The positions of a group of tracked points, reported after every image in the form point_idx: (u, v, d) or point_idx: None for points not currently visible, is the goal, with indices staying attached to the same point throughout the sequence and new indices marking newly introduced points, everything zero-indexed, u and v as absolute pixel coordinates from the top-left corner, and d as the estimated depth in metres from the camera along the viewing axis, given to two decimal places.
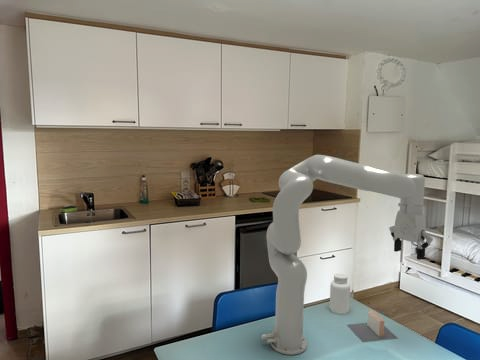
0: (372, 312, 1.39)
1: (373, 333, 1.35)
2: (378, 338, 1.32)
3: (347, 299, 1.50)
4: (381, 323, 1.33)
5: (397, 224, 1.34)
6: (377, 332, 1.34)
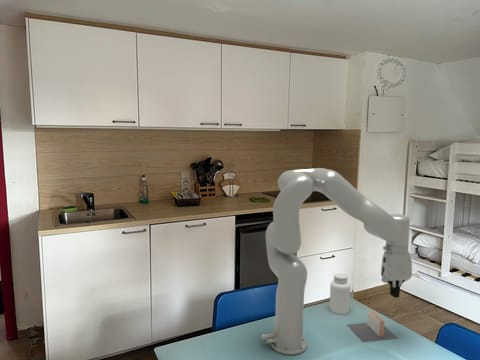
0: (372, 312, 1.39)
1: (373, 333, 1.35)
2: (378, 338, 1.32)
3: (347, 299, 1.50)
4: (381, 323, 1.33)
5: (392, 268, 1.32)
6: (377, 332, 1.34)
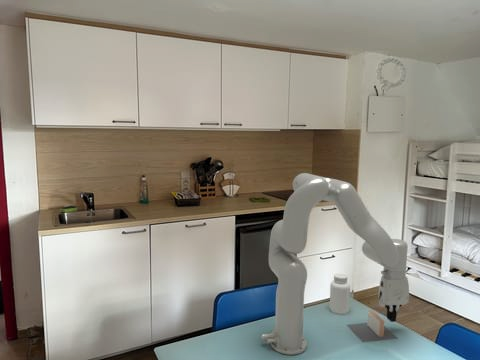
0: (372, 312, 1.39)
1: (373, 333, 1.35)
2: (378, 338, 1.32)
3: (347, 299, 1.50)
4: (381, 323, 1.33)
5: (389, 292, 1.33)
6: (377, 332, 1.34)
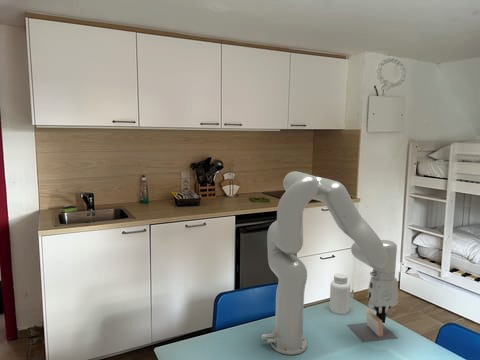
0: (370, 312, 1.39)
1: (373, 333, 1.35)
2: (378, 338, 1.32)
3: (347, 299, 1.50)
4: (379, 323, 1.33)
5: (378, 294, 1.32)
6: (377, 332, 1.34)
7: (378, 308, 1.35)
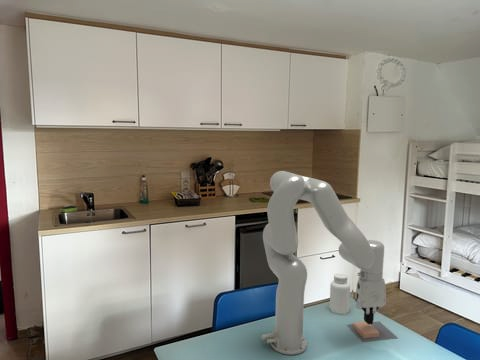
0: (354, 326, 1.38)
1: None
2: (378, 338, 1.32)
3: (347, 299, 1.50)
4: (366, 336, 1.32)
5: (366, 295, 1.31)
6: None
7: (366, 309, 1.34)
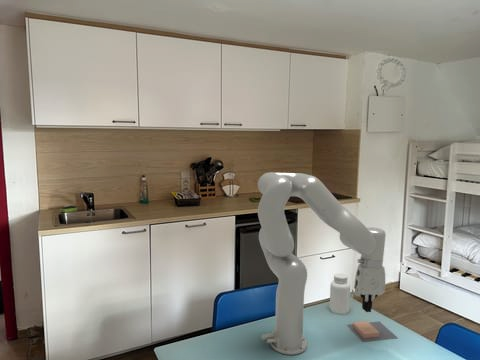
0: (354, 326, 1.38)
1: None
2: (378, 338, 1.32)
3: (347, 299, 1.50)
4: (366, 336, 1.32)
5: (365, 281, 1.31)
6: None
7: (364, 296, 1.33)
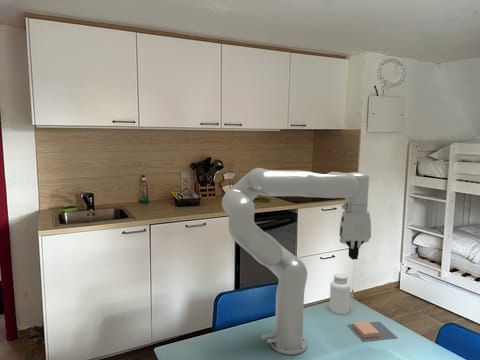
0: (354, 326, 1.38)
1: None
2: (378, 338, 1.32)
3: (347, 299, 1.50)
4: (366, 336, 1.32)
5: (350, 227, 1.27)
6: None
7: (350, 243, 1.29)
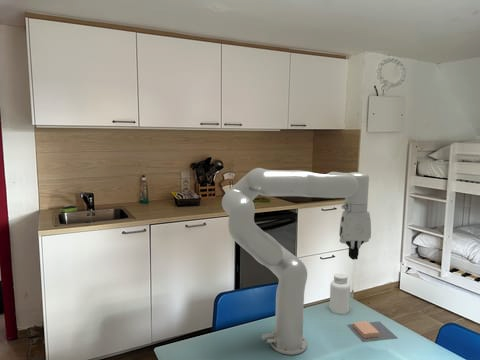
0: (354, 326, 1.38)
1: None
2: (378, 338, 1.32)
3: (347, 299, 1.50)
4: (366, 336, 1.32)
5: (350, 227, 1.27)
6: None
7: (350, 243, 1.29)
